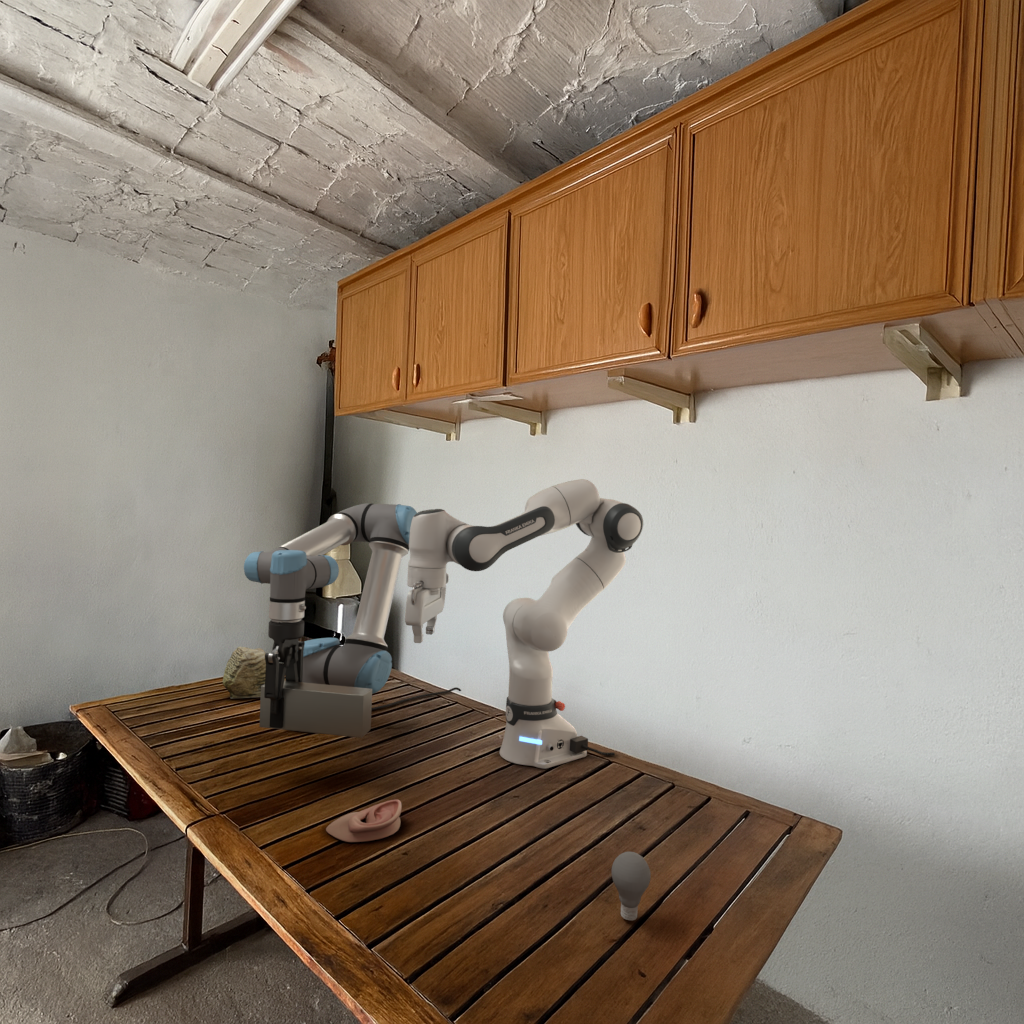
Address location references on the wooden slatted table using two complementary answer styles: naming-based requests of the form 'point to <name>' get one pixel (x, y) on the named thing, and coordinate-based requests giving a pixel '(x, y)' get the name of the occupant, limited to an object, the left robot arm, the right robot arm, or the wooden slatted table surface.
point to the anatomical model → (368, 823)
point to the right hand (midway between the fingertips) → (424, 638)
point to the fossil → (245, 673)
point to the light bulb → (630, 881)
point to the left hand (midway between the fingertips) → (282, 722)
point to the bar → (322, 709)
